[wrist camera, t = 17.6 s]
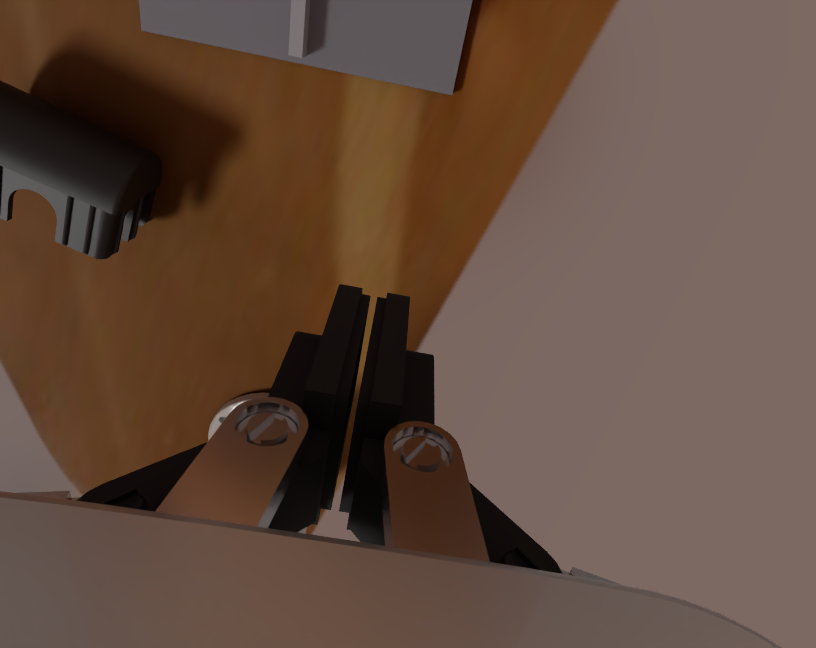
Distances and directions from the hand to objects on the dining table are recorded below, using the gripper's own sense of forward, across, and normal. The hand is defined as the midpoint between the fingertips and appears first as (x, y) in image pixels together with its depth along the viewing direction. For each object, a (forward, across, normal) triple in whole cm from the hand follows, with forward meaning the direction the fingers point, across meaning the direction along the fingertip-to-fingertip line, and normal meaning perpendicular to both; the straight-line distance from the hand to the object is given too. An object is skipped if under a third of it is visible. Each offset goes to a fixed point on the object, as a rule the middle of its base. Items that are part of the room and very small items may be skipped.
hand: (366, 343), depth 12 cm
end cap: (+26, +21, +6) cm, 34 cm away
